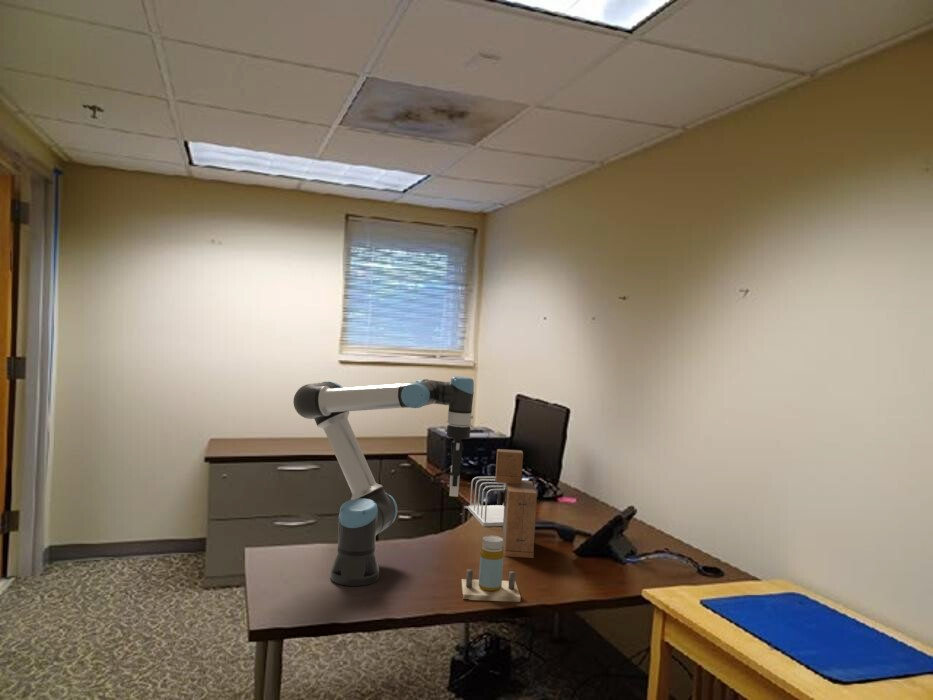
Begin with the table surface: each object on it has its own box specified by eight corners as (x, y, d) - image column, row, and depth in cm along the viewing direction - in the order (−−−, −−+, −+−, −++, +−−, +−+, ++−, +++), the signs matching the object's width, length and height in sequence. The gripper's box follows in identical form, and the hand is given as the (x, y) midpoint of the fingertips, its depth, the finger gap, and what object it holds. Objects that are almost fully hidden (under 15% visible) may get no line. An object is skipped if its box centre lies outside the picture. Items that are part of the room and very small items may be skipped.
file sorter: (467, 510, 285) (469, 475, 285) (504, 509, 289) (506, 475, 289) (483, 527, 261) (485, 489, 261) (523, 526, 265) (525, 489, 265)
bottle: (500, 583, 197) (503, 535, 197) (502, 592, 190) (505, 543, 190) (477, 582, 197) (480, 534, 197) (479, 591, 190) (482, 541, 190)
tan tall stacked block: (491, 538, 246) (497, 448, 245) (528, 540, 246) (533, 450, 245) (493, 555, 227) (499, 458, 226) (533, 557, 227) (539, 460, 226)
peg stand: (463, 599, 187) (464, 577, 187) (461, 583, 199) (462, 563, 199) (520, 601, 188) (521, 580, 188) (515, 585, 200) (516, 565, 200)
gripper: (471, 432, 191) (466, 501, 192) (469, 420, 216) (464, 482, 217) (447, 430, 191) (441, 499, 192) (447, 418, 216) (442, 480, 217)
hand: (453, 490), depth 204 cm, fingers open, 13 cm apart
